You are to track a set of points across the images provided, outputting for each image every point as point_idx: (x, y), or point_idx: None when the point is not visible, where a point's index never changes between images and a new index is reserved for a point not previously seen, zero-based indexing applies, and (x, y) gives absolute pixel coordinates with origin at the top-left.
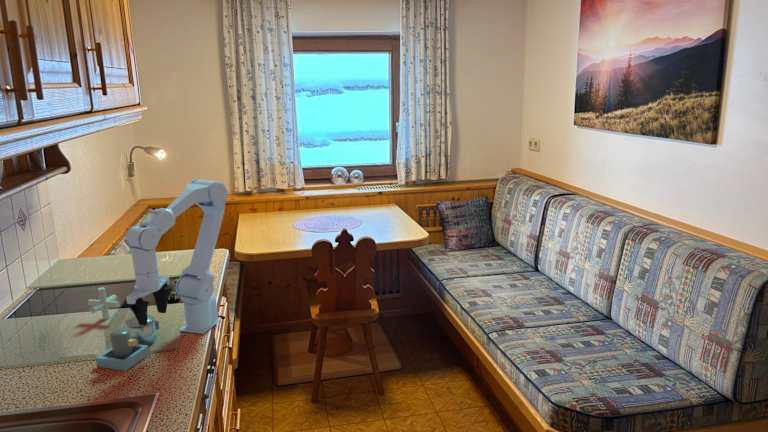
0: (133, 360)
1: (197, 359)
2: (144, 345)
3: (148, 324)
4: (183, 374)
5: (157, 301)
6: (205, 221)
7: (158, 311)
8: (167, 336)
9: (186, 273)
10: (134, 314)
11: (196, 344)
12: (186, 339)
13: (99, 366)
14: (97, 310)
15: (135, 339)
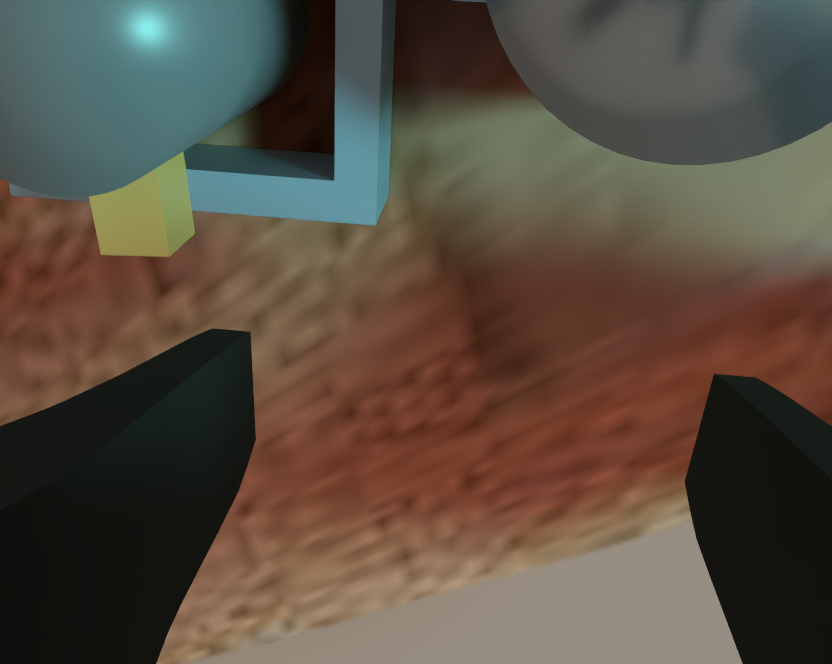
0: None
1: (396, 591)
2: (368, 178)
3: (609, 146)
4: (194, 590)
5: (809, 520)
6: None
7: (721, 386)
8: (792, 148)
9: None
10: (66, 403)
11: (626, 494)
12: (721, 374)
13: None
14: None
15: (156, 250)
